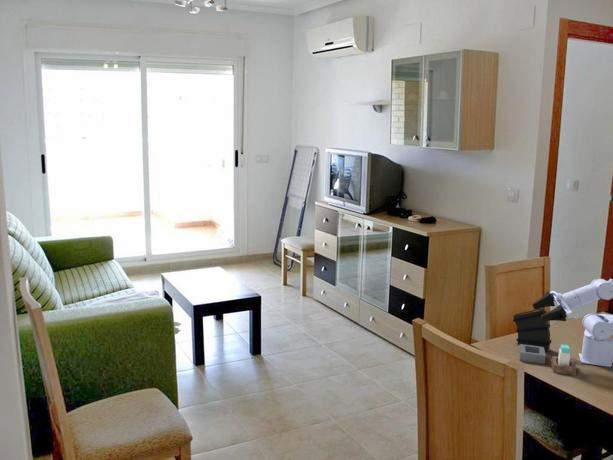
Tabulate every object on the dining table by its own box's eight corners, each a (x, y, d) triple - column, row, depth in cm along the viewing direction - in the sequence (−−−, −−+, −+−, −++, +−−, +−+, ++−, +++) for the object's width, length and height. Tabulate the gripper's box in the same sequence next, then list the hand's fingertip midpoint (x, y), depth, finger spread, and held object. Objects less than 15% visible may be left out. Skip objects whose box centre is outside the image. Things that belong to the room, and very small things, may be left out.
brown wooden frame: (572, 365, 194) (573, 358, 194) (574, 375, 187) (575, 368, 187) (551, 362, 196) (551, 356, 196) (553, 372, 189) (553, 365, 189)
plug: (567, 367, 193) (569, 344, 192) (568, 372, 190) (570, 349, 188) (557, 365, 194) (559, 343, 193) (558, 370, 190) (560, 348, 189)
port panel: (543, 355, 203) (543, 347, 202) (544, 364, 195) (545, 355, 195) (519, 351, 205) (519, 344, 205) (519, 360, 198) (520, 352, 197)
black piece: (557, 350, 203) (542, 310, 204) (521, 356, 211) (506, 318, 212) (559, 346, 206) (544, 307, 207) (524, 353, 214) (510, 315, 215)
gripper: (564, 278, 200) (526, 292, 202) (583, 300, 187) (543, 314, 189) (569, 294, 203) (531, 308, 205) (588, 317, 190) (548, 331, 192)
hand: (537, 312), depth 197 cm, fingers open, 7 cm apart
